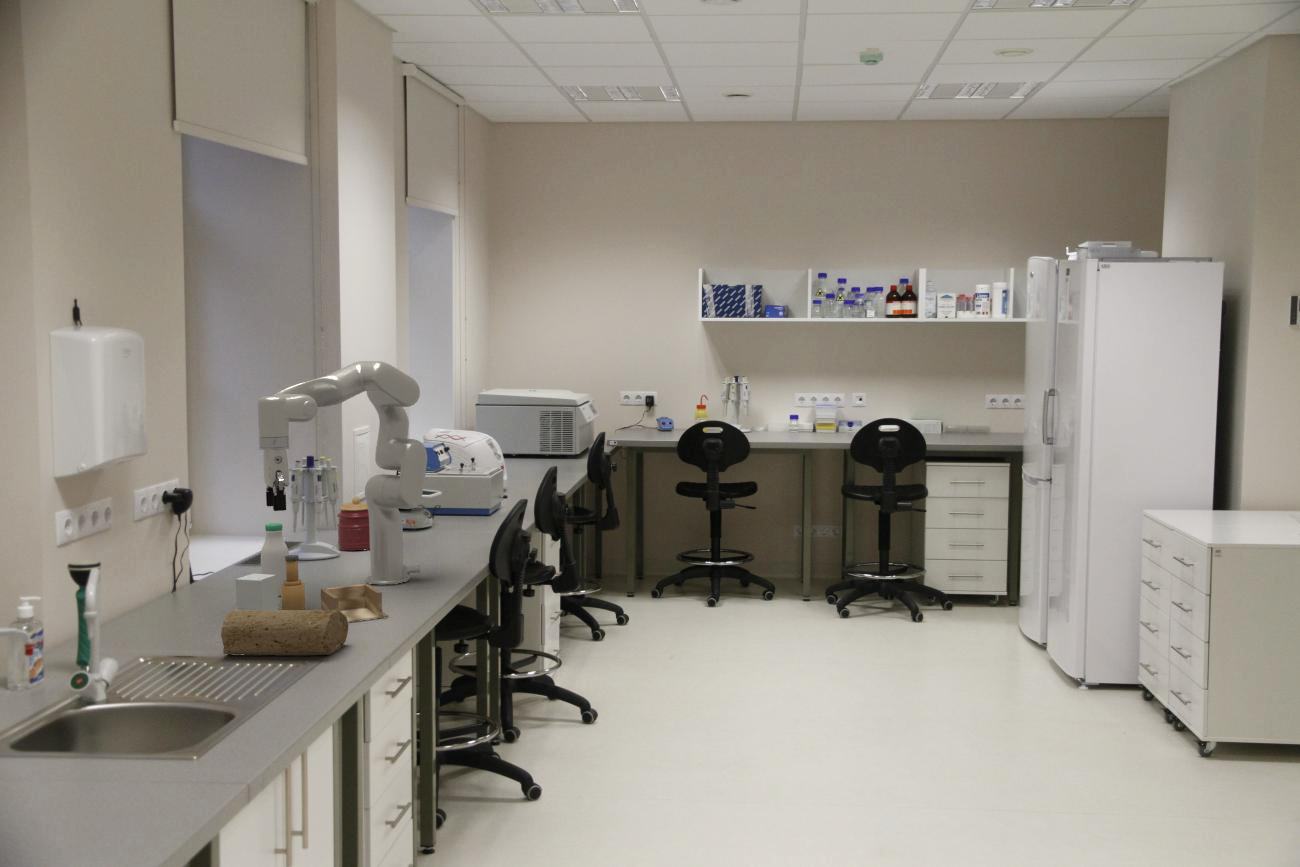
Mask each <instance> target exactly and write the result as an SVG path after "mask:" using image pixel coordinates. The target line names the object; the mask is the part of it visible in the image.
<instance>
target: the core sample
mask: <svg viewBox="0 0 1300 867" xmlns="http://www.w3.org/2000/svg"><path fill="white" fill-rule="evenodd" d="M348 634H349V623H348V620H347V617H346V616H345V615H344V614H343V613H342V612H341V611H339V610H322V609H306V610H282V609H279V610H237V609H232V610H230V611H229V612H227V613H226V615H225V616H224V620H223V624H222V626H221V631H220V637H221V641H222V645H223V648H222V650H223V654H224V655H225V654H244V655H243V656H261V655H276V656H279V657H281V656H282V657H283V656H285V657H287V656H290V657H291V656H298V657H299V656H300V657H301V656H302V657H304V656H330V655H333V654H334V653H335V652H337V651H339V650H340V649H342V647H343V646H344V644H346V641H347V638H348ZM276 656H275V657H276Z"/></svg>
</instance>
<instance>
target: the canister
mask: <svg viewBox="0 0 1300 867" xmlns="http://www.w3.org/2000/svg"><path fill="white" fill-rule="evenodd" d="M351 501H352V502H347V503H344V504H342V505H341V506H340V507H339V508H338V509H339V510H340V512H338V513H337V514H336V516H337V518H338V523H337V537H338V541H337V545H338V550H340V549H341V550H340V551H343V550H364V549H370V531H369V530H370V529H369V513H368V507H367V502H366V501H361V499H360V498H359V497H358V496H355V497H353V498H352V500H351Z"/></svg>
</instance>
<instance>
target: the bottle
mask: <svg viewBox="0 0 1300 867" xmlns="http://www.w3.org/2000/svg"><path fill="white" fill-rule="evenodd" d="M299 556H300V555H299V554H289V555H288V556H285V561H286V577H287V580H285V581H284V584H281V596H280V599H281V600H280V601H281V602H280V604H281V610H307V609H306V583H305V582H302V579H301V578H300V577H299ZM299 578H300V579H299Z"/></svg>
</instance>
